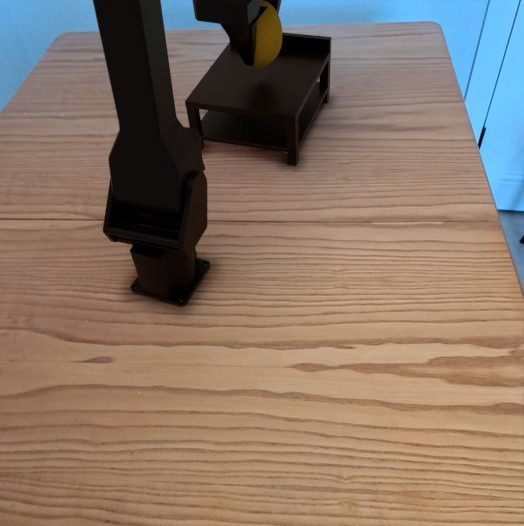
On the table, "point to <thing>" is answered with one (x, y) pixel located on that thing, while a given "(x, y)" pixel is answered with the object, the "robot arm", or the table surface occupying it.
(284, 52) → the dark coffee table
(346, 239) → the table surface
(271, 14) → the lemon
